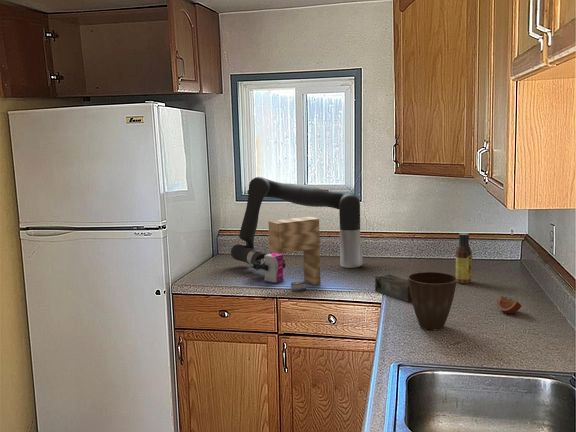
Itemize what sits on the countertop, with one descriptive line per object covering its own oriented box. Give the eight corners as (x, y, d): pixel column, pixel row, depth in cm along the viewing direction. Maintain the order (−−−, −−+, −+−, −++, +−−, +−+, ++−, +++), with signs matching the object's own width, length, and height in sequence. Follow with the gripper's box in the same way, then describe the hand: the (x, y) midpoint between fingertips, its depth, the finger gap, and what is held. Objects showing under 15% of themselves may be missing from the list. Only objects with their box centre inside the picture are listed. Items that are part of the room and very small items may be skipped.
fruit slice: (492, 310, 203) (492, 296, 202) (508, 307, 205) (509, 293, 204) (509, 317, 195) (509, 302, 194) (525, 314, 197) (526, 300, 196)
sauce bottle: (472, 284, 235) (473, 235, 232) (456, 284, 236) (456, 235, 233) (470, 280, 241) (471, 232, 238) (454, 280, 242) (455, 232, 239)
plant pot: (425, 315, 199) (425, 269, 196) (465, 325, 188) (466, 276, 185) (398, 326, 188) (398, 278, 186) (439, 338, 178) (439, 286, 175)
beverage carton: (389, 288, 234) (389, 272, 233) (424, 299, 218) (424, 282, 217) (374, 291, 230) (374, 275, 229) (408, 303, 214) (408, 285, 213)
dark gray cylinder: (298, 287, 238) (298, 280, 237) (309, 290, 234) (309, 283, 233) (288, 291, 234) (287, 283, 233) (298, 293, 229) (298, 286, 229)
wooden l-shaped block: (310, 279, 250) (308, 216, 246) (321, 283, 242) (319, 218, 238) (270, 286, 240) (268, 221, 236) (280, 291, 233) (278, 223, 229)
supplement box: (275, 283, 244) (274, 256, 242) (264, 281, 248) (263, 255, 246) (283, 280, 249) (283, 254, 247) (272, 278, 252) (272, 252, 250)
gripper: (243, 253, 255) (260, 260, 241) (272, 249, 262) (290, 256, 248) (243, 270, 257) (261, 278, 242) (272, 265, 263) (291, 273, 249)
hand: (276, 267), depth 245 cm, fingers closed on supplement box, 7 cm apart
